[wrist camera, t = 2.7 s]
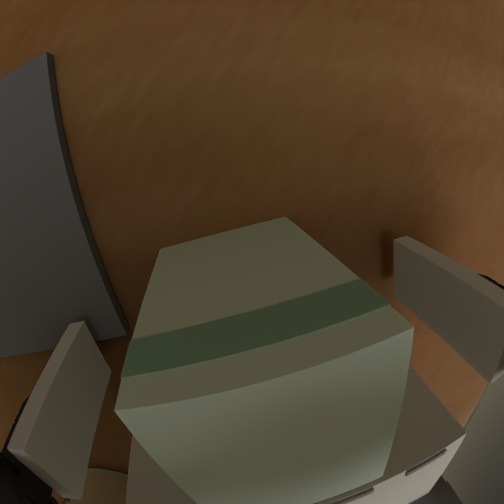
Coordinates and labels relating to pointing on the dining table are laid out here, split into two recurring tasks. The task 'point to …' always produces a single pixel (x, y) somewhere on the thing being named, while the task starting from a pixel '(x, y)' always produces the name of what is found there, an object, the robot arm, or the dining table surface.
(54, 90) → the mat
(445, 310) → the robot arm
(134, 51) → the dining table surface
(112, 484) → the coffee cup
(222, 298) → the pale green box
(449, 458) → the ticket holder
